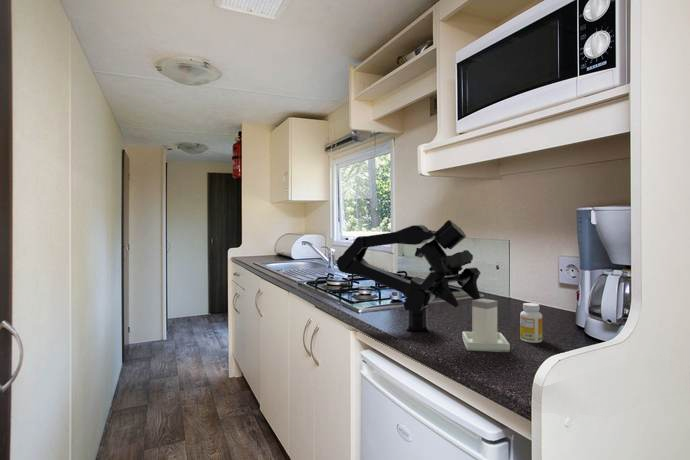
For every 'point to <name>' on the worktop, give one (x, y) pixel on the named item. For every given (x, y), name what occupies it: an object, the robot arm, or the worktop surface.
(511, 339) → the worktop surface
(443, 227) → the robot arm
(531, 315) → the supplement bottle
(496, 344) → the tray
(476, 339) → the block
